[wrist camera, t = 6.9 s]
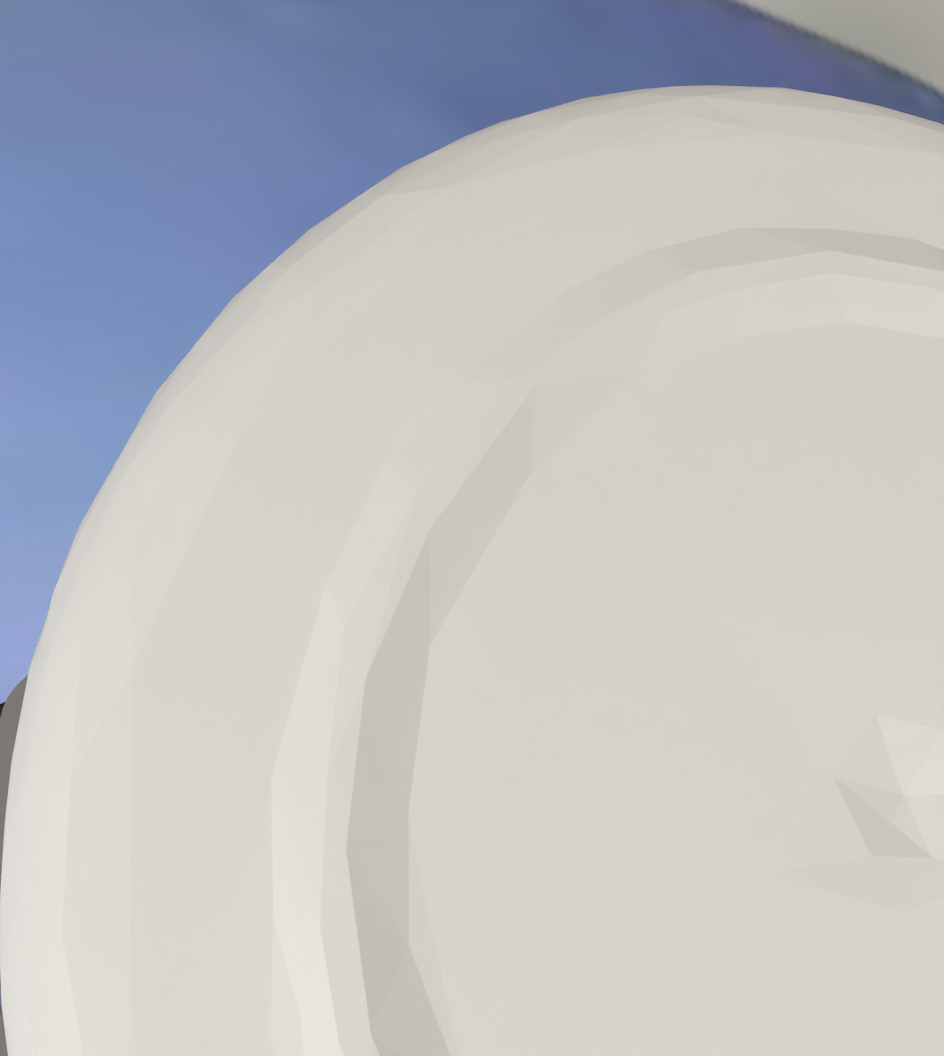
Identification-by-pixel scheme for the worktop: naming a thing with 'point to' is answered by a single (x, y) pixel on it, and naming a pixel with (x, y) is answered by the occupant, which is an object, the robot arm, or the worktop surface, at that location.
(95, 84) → the worktop surface
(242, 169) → the worktop surface
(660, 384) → the sprinkles bottle
